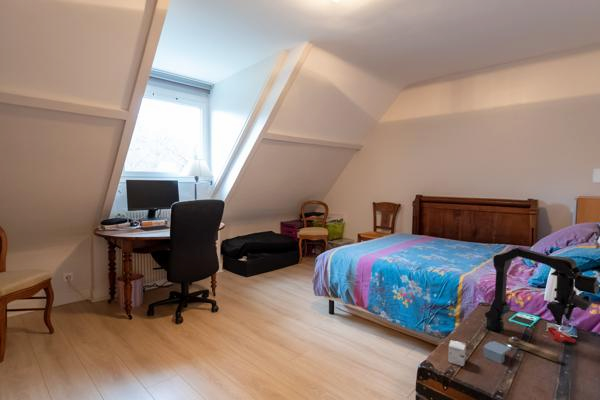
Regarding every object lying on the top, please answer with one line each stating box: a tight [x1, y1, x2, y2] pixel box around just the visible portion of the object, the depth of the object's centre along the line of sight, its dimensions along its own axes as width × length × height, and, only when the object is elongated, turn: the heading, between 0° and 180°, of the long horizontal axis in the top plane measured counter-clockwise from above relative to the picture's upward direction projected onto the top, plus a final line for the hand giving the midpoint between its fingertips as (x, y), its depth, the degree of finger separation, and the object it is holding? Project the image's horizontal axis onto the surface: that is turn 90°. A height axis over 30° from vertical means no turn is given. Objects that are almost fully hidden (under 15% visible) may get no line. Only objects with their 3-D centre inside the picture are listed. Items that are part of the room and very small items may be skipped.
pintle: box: [504, 336, 522, 350], centre depth 144 cm, size 7×7×4 cm
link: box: [508, 336, 560, 363], centre depth 139 cm, size 18×4×2 cm, turn 33°
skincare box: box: [447, 339, 467, 367], centre depth 133 cm, size 6×6×7 cm
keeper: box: [483, 340, 512, 365], centre depth 136 cm, size 8×9×4 cm
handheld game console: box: [508, 311, 541, 328], centre depth 170 cm, size 10×16×1 cm, turn 127°
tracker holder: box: [546, 326, 576, 344], centre depth 150 cm, size 12×4×10 cm
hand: (563, 322), depth 136 cm, fingers open, 9 cm apart
